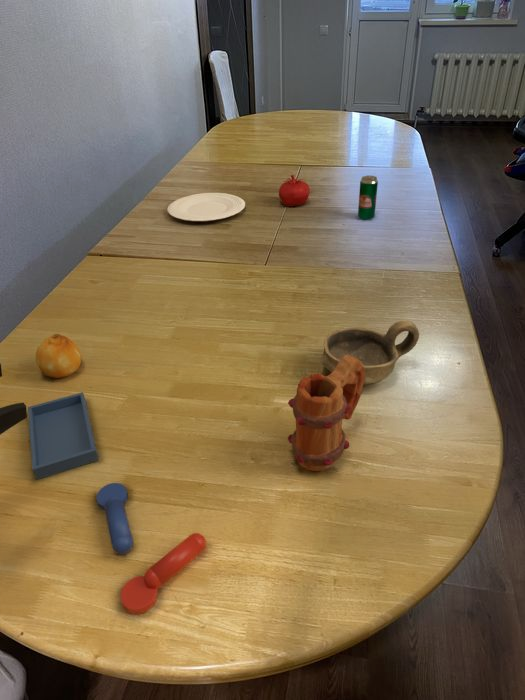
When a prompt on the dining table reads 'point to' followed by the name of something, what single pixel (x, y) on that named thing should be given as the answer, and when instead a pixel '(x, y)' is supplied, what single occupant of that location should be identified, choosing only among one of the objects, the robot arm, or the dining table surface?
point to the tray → (60, 435)
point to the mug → (325, 413)
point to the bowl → (370, 348)
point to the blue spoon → (116, 516)
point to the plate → (206, 207)
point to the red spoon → (160, 575)
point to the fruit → (58, 356)
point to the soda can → (367, 197)
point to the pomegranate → (294, 192)
